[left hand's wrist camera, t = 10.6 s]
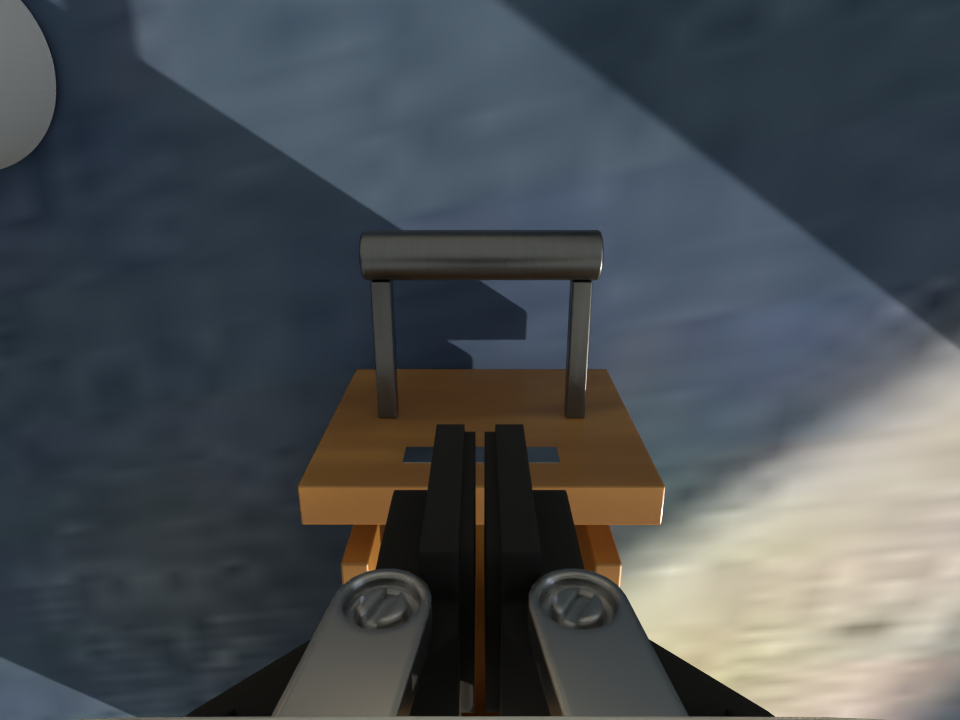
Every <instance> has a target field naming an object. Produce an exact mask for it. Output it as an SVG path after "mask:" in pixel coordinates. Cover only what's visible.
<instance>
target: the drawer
mask: <svg viewBox="0 0 960 720" xmlns="http://www.w3.org/2000/svg"><path fill="white" fill-rule="evenodd" d="M603 257H604V247H603V238H602V234H601V232H600V231H598V230H365V231H363V232H362V234H361V237H360V245H359V259H360V268H361V273H362V276H363V278H364V279H365V280H372V281H371V283H370V287H371V303H372V320H373V337H374V354H375V369H357V370H356V371H355V373H354V375H353V377H352V379H351V381H350V383H349V385H348V387H347V389H346V391H345V393H344V395H343V397H342V399H341V401H340V403H339V405H338V407H337V409H336V411H335V413H334V415H333V417H332V419H331V421H330V423H329V425H328V427H327V429H326V431H325V433H324V435H323V437H322V439H321V441H320V443H319V445H318V447H317V449H316V451H315V453H314V455H313V457H312V459H311V461H310V463H309V465H308V467H307V469H306V471H305V473H304V475H303V477H302V479H301V481H300V483H299V485H298V495H299V504H300V513H301V522H302V524H329V525H353V527H352V530H351V533H350V536H349V539H348V543H347V546H346V549H345V552H344V555H343V558H342V561H341V576H342V585H343V584H345V583H346V582H347V581H349V580H350V579H351V578H353V577H355V576H357V575H360V574H362V573H364V572H367V571H372V570H375V569H376V565H377V560H378V556H379V552H380V547H381V543H382V538H383V534H384V530H385V525H386V521H387V517H388V512H389V508H390V504H391V499H392V495H393V492H394V490H428V483H429V476H430V468H431V461H432V454H433V447H434V440H435V433H436V426H437V424H465V432H476V602H475V709H474V712H461V716H499V712H486V709H485V602H484V432H495V424H523V426H524V433H525V440H526V447H527V454H528V461H529V468H530V476H531V483H532V490H566V492H567V495H568V499H569V504H570V508H571V512H572V517H573V521H574V525H575V530H576V534H577V539H578V543H579V547H580V552H581V556H582V560H583V565H584V569H585V570H588V571H593V572H596V573H598V574H600V575H603V576H605V577H607V578H609V579H610V580H611V581H613V582H614V583H615V584H617V585H618V586H619V587H620V583H621V572H622V563H621V560H620V557H619V554H618V550H617V547H616V544H615V541H614V538H613V535H612V531H611V528H610V525H661V520H662V511H663V503H664V494H665V485H664V483H663V481H662V479H661V477H660V475H659V473H658V471H657V469H656V467H655V465H654V463H653V461H652V459H651V457H650V455H649V453H648V451H647V449H646V447H645V445H644V443H643V441H642V439H641V437H640V435H639V433H638V431H637V429H636V427H635V425H634V424H633V422H632V420H631V418H630V416H629V414H628V412H627V410H626V408H625V406H624V404H623V402H622V400H621V398H620V396H619V394H618V392H617V390H616V388H615V386H614V384H613V382H612V380H611V378H610V376H609V374H608V372H607V370H606V369H587V368H588V351H589V334H590V318H591V301H592V285H593V283H592V281H591V280H597V279H599V278H600V276H601V273H602V268H603ZM393 280H570V296H569V317H568V337H567V358H566V369H397V362H396V341H395V320H394V299H393Z"/></svg>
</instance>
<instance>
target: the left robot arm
mask: <svg viewBox="0 0 960 720" xmlns="http://www.w3.org/2000/svg"><path fill="white" fill-rule="evenodd" d="M475 602H476V432H465V424H437V426H436V433H435V440H434V447H433V454H432V461H431V468H430V476H429V483H428V490H394V492H393V495H392V499H391V504H390V508H389V512H388V517H387V521H386V525H385V530H384V534H383V538H382V543H381V547H380V552H379V556H378V560H377V565H376V569H375V570H372V571H367V572H364V573H362V574H360V575H357V576H355V577H353V578H351V579H350V580H349V581H347V582H346V583H345V584H343V585H342V586H341V587H340V589H339V590H338V591H337V592H336V594H335V595H334V597H333V599H332V601H331V602H330V604H329V606H328V608H327V610H326V612H325V614H324V616H323V618H322V620H321V622H320V624H319V625H318V627H317V629H316V631H315V633H314V635H313V637H312V639H311V640H309V641H307V642H306V643H304V644H303V645H301V646H299V647H298V648H296V649H294V650H293V651H291V652H289V653H288V654H286V655H284V656H283V657H281V658H279V659H278V660H276V661H274V662H273V663H271V664H270V665H268V666H266V667H265V668H263V669H261V670H260V671H258V672H256V673H255V674H253V675H251V676H250V677H248V678H246V679H245V680H243V681H241V682H240V683H238V684H236V685H235V686H233V687H232V688H230V689H228V690H227V691H225V692H223V693H222V694H220V695H218V696H217V697H215V698H213V699H212V700H210V701H208V702H207V703H205V704H203V705H202V706H200V707H198V708H197V709H195V710H194V711H192V712H191V713H189V714H188V715H187V716H185V717H128V718H102V719H76V720H884V719H858V718H832V717H775V716H773V715H772V714H771V713H769V712H768V711H766V710H765V709H763V708H762V707H760V706H758V705H757V704H755V703H753V702H752V701H750V700H748V699H747V698H745V697H743V696H742V695H740V694H738V693H737V692H735V691H733V690H732V689H730V688H728V687H727V686H725V685H724V684H722V683H720V682H719V681H717V680H715V679H714V678H712V677H710V676H709V675H707V674H705V673H704V672H702V671H700V670H699V669H697V668H695V667H694V666H692V665H690V664H689V663H687V662H686V661H684V660H682V659H681V658H679V657H677V656H676V655H674V654H672V653H671V652H669V651H667V650H666V649H664V648H662V647H661V646H659V645H657V644H656V643H654V642H653V641H651V640H649V639H648V637H647V635H646V633H645V631H644V629H643V627H642V625H641V624H640V622H639V620H638V618H637V616H636V614H635V612H634V610H633V608H632V606H631V604H630V602H629V601H628V599H627V597H626V595H625V594H624V592H623V591H622V590H621V589H620V587H619V586H618V585H617V584H615V583H614V582H613V581H611V580H610V579H609V578H607V577H605V576H603V575H600V574H598V573H596V572H593V571H588V570H585V569H584V565H583V560H582V556H581V552H580V547H579V543H578V539H577V534H576V530H575V525H574V521H573V517H572V512H571V508H570V504H569V499H568V495H567V492H566V490H532V483H531V476H530V468H529V461H528V454H527V447H526V440H525V433H524V426H523V424H495V432H484V602H485V709H486V712H499V716H461V712H474V709H475Z"/></svg>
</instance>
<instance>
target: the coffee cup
mask: <svg viewBox="0 0 960 720" xmlns="http://www.w3.org/2000/svg"><path fill="white" fill-rule="evenodd" d="M55 102H56V77H55V70H54V64H53V60H52V56H51V53H50V50H49V47H48V45H47V42H46V39H45V37H44V35H43V33H42V31H41V29H40V27H39V25H38V24H37V22H36V20H35V19H34V17H33V16H32V14H31V13H30V11H29V10H28V9H27V7H26V6H25V5H24V3H23V2H22V1H21V0H0V169H3V168H6V167H9V166H11V165H13V164H15V163H17V162H19V161H20V160H22V159H23V158H25V157H26V156H27V155H28V154H30V153H31V152H32V151H33V150H34V149H35V148H36V147H37V145H38V144H39V143H40V142H41V140H42V139H43V137H44V136H45V134H46V132H47V130H48V128H49V125H50V123H51V120H52V117H53V113H54V108H55Z"/></svg>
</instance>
